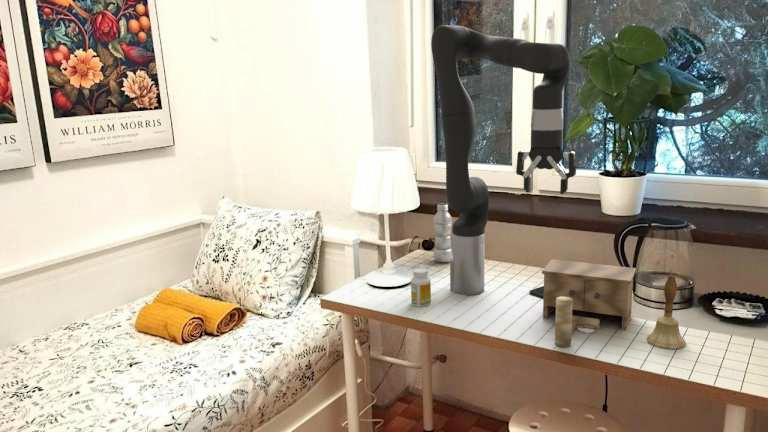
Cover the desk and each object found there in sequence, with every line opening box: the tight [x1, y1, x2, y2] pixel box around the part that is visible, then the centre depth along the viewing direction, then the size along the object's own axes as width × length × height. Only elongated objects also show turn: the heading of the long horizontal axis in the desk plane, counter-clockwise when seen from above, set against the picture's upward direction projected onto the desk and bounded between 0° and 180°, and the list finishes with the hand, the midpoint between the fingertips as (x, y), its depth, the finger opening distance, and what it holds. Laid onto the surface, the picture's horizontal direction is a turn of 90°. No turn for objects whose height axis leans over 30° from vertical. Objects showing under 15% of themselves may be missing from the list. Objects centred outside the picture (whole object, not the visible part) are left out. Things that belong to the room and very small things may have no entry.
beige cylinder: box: [554, 297, 600, 349], centre depth 143 cm, size 10×15×11 cm, turn 152°
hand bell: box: [646, 274, 687, 350], centre depth 138 cm, size 8×8×16 cm
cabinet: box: [541, 258, 637, 331], centre depth 154 cm, size 21×12×13 cm, turn 62°
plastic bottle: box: [433, 202, 453, 263], centre depth 205 cm, size 6×7×20 cm
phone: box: [529, 285, 544, 300], centre depth 170 cm, size 8×1×15 cm
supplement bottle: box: [410, 268, 432, 308], centre depth 168 cm, size 5×5×10 cm
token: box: [576, 323, 597, 335], centre depth 147 cm, size 4×4×1 cm
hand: (545, 192), depth 152 cm, fingers open, 8 cm apart
